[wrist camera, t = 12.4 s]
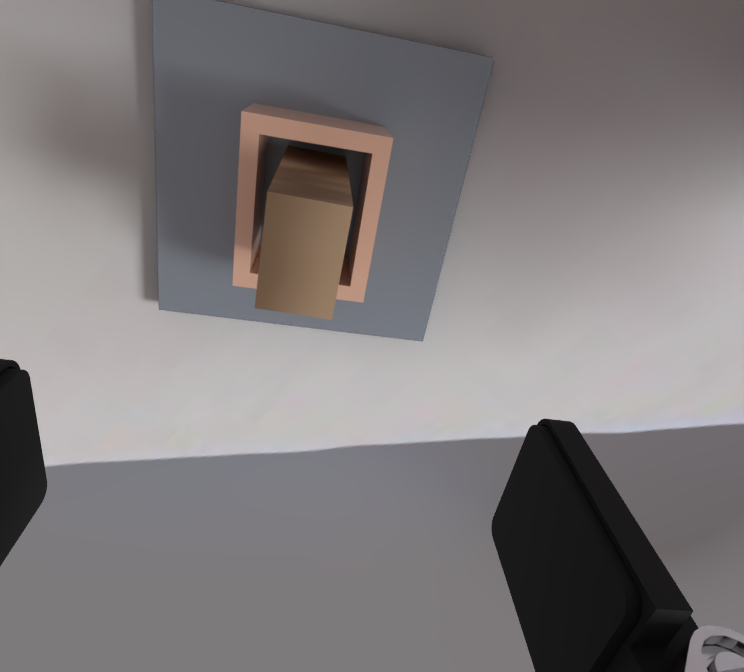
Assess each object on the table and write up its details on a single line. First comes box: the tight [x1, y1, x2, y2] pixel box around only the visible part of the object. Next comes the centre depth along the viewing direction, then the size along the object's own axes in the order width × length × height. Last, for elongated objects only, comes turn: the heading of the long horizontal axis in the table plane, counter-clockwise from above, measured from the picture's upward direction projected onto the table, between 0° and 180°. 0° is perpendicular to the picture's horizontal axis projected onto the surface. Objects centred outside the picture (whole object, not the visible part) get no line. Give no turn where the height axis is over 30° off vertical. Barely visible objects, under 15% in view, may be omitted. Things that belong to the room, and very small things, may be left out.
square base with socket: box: [152, 0, 494, 341], centre depth 26 cm, size 16×16×6 cm
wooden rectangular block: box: [255, 145, 353, 320], centre depth 23 cm, size 3×4×10 cm, turn 168°
